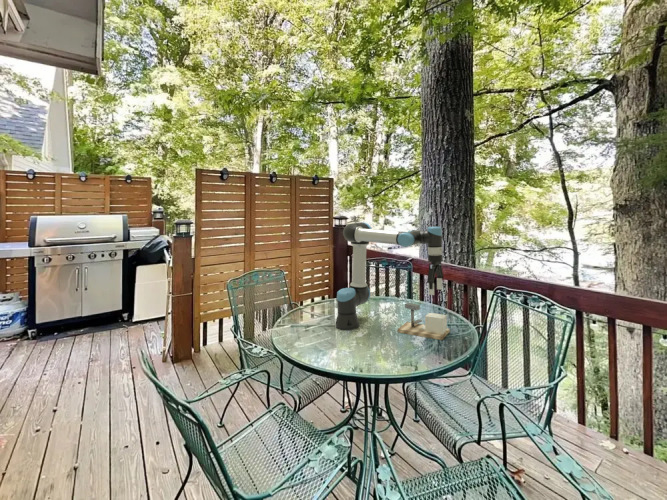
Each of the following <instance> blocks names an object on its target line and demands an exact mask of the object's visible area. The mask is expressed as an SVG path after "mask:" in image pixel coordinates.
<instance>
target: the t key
mask: <svg viewBox="0 0 667 500" xmlns="http://www.w3.org/2000/svg"><path fill="white" fill-rule="evenodd" d="M404 309H407V310H410V323H411V327H414V325H415V324H421V323H422V322H423V319H420V318H419V319H416V320H415V311H419V310H420V309H421V305H420V304H417V303H411V302H407V303H404Z"/></svg>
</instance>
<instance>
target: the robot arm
mask: <svg viewBox="0 0 667 500" xmlns="http://www.w3.org/2000/svg"><path fill="white" fill-rule="evenodd" d="M342 231H343V232H342V235H343V237H344V239H345V241H347V242H349V243H350V244H351V246H352V274H351V275H352V276H351V277H352V281H351V282H350V284H349V287H345V288H344V287H343V288H340V289H339V290H338V291H337V292H336V305H337V317H336V320H335V328H336V329H339V330H344V331H348V330H350V331H351V330H357V328H359V327H360V320H359V318H358V314H357V307H358V306H361V305H364V304H365V303H367V302H368V301H369V300H370V299H371V298H370V297H371V290H370V289H369V287H368V284H367V282H366V272H367V270H366V269H367V268H366V267H367V247H368V246H369V244H370V243H378V244H387V245H396V246H401V247H403V248H404V247H405V248H406V247H407V248H409V247H411V246H414V245H420V244H421V245H422V244H423V245H424V244H425V245H427V258H428V259H427V261H428V262H429V263H430V264H428V275H427V280H426V283H427V284H428V295H430V296H435V283H434V282H435V277H437V278H436V290H443V279H444V273H443V268H442V262H443V251H444V248H443V232H442V227H441V226H429V227H427V229H426V230H414V229H413V230H408V231H401V230H400V231H398V230H397V231H396V230H387V229H375V228H372V226H371V225H370V224H368V223H366V222H355V223H354V222H351V223H349V224H347V225H345V227H344V228H343V230H342Z"/></svg>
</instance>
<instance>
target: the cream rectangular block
mask: <svg viewBox="0 0 667 500" xmlns="http://www.w3.org/2000/svg"><path fill="white" fill-rule="evenodd" d="M447 316H448V315H447V314H441V313H436V312H435V313H434V312H428V313H427V314H426V315H425V317H424V320H425V321H424V322H425V324H424V325H425V326H423V327H422V328H421V330H424V331H426V332H432V333H438V334H444V333H445V332H446V331H447V328H448V327H447V326H448V324H447V323H448V321H447V319H448V317H447Z"/></svg>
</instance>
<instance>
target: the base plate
mask: <svg viewBox="0 0 667 500" xmlns="http://www.w3.org/2000/svg"><path fill="white" fill-rule="evenodd" d="M423 326H425V324H423V323H417V324H415V325H414V327H411V321H410V322H409V321H406V322H405V323H404V324H402V325H401V326H400V327H398V328H397V333H401V334H405V335H411V336H416V337H417V336H418V337H423V338H426V339H427V338H428V339H432V340H433V339H435V340H440V341H443V340H444V339H445V338H446V337H447V335H448V334H449V333H450V332H451V331H450V328H448V327H447V331H446V332H445V333H444V334H438V333H432V332H426V331H424V330H421V328H422V327H423Z"/></svg>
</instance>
